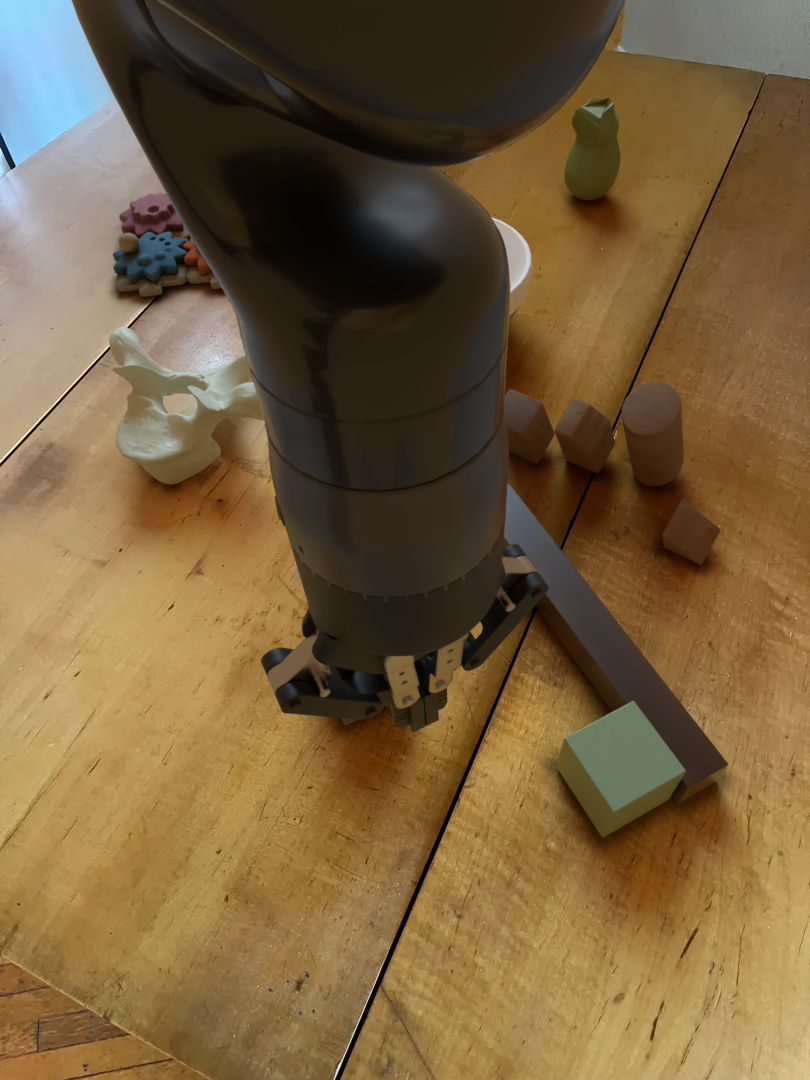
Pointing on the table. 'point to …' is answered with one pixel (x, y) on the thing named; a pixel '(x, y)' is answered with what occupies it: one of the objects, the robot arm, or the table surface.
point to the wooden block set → (591, 439)
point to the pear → (593, 150)
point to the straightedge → (610, 651)
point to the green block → (619, 768)
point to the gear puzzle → (157, 249)
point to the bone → (176, 439)
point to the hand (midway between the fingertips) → (417, 710)
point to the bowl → (516, 264)
